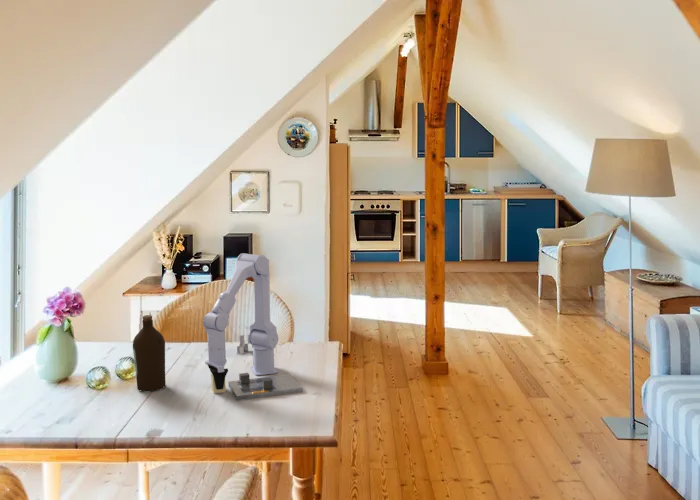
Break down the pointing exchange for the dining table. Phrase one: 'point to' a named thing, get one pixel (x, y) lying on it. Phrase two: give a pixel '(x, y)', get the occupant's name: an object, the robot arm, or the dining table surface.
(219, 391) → the cap
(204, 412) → the dining table surface
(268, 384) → the breaker tagged
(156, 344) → the olive oil
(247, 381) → the block
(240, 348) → the architectural model
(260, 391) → the panel
